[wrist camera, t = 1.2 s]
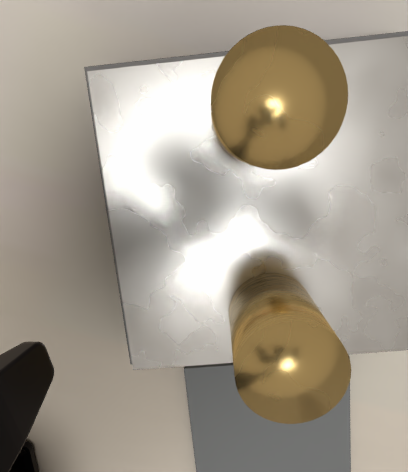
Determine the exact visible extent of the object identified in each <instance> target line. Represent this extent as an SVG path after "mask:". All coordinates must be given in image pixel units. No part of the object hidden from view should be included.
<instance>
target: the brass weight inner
mask: <svg viewBox="0 0 408 472" xmlns="http://www.w3.org/2000/svg"><path fill="white" fill-rule="evenodd" d="M229 324H230V334H231V345H232V355H233V366H234V376H235V383H236V387H237V390H238V393H239V395H240V397H241V398H242V400H243V401H244V403H245V404H246V405H247V406H248V407H249V408H250V409H251V410H252V411H253V412H254V413H256V414H258V415H259V416H261V417H263V418H265V419H267V420H270V421H273V422H277V423H283V424H298V423H304V422H308V421H312V420H314V419H317V418H319V417H321V416H323V415H324V414H326V413H328V412H329V411H330V410H331V409H333V408H334V407H335V406H336V405H337V404H338V403H339V402H340V400H341V399H342V397H343V396H344V394H345V392H346V390H347V388H348V385H349V382H350V377H351V364H350V359H349V356H348V353H347V351H346V349H345V347H344V346H343V344H342V342H341V341H340V339H339V338H338V336H337V335H336V334H335V332H334V331H333V329H332V328H331V326H330V325H329V323H328V322H327V320H326V319H325V317H324V316H323V314H322V313H321V311H320V310H319V308H318V307H317V305H316V304H315V302H314V301H313V299H312V298H311V296H310V295H309V293H308V292H307V290H306V289H305V288H304V287H303V286H302V285H301V284H300V283H299V282H298V281H297V280H295V279H293V278H292V277H289V276H287V275H284V274H279V273H265V274H260V275H257V276H254V277H252V278H250V279H248V280H247V281H245V282H244V283H243V284H242V285H241V286H240V287H239V288H238V289H237V290H236V291H235V293H234V295H233V297H232V299H231V302H230V305H229Z"/></svg>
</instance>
